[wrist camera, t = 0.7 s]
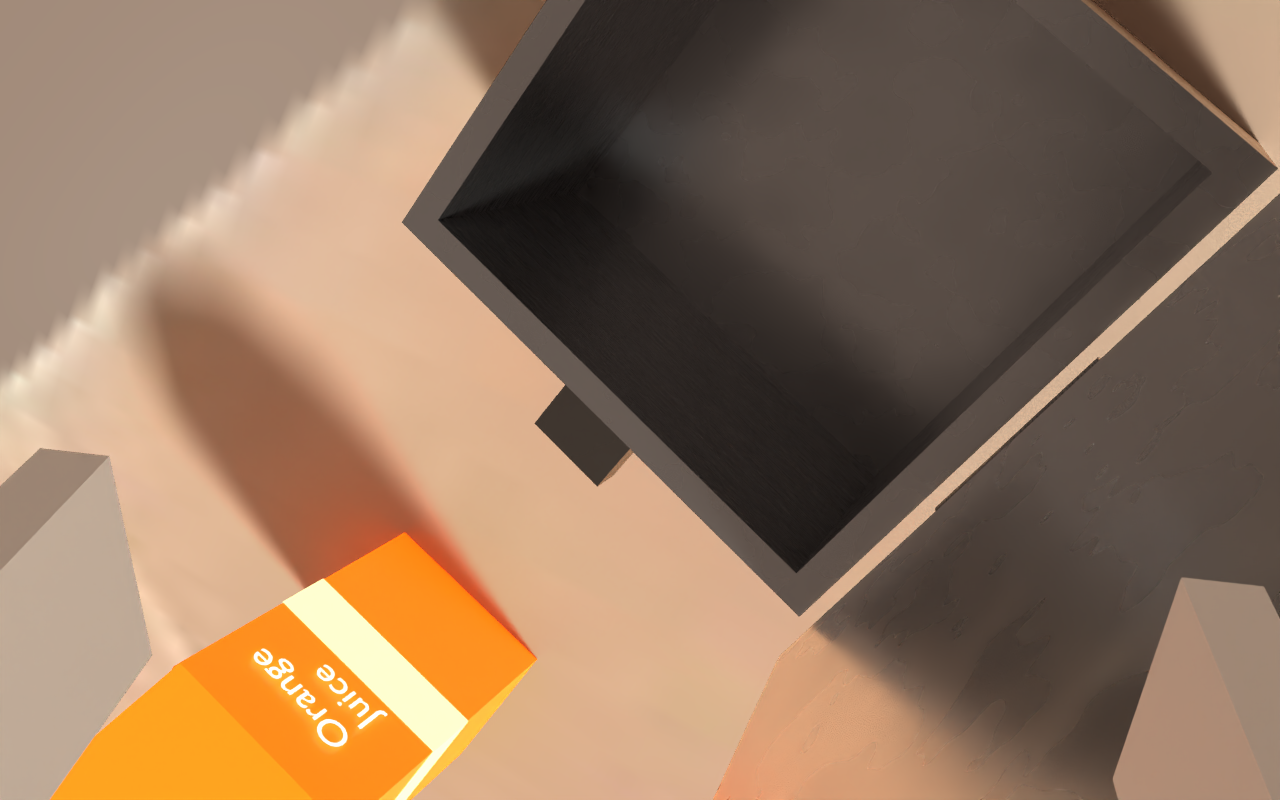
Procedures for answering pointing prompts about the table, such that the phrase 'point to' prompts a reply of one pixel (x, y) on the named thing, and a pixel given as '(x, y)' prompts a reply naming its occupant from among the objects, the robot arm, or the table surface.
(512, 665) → the orange juice
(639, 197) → the grey storage box
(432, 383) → the table surface
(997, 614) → the gray box lid
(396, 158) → the table surface
